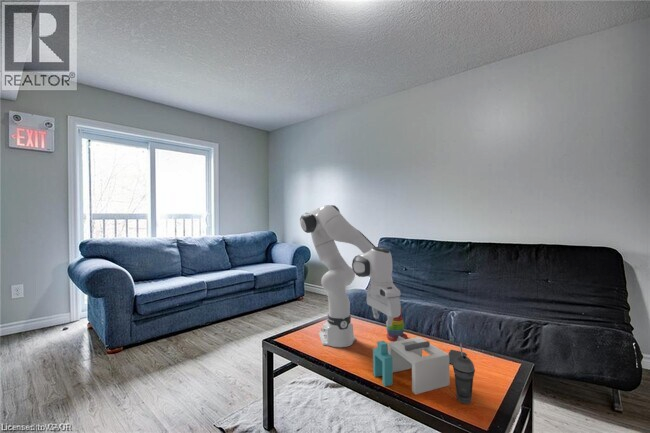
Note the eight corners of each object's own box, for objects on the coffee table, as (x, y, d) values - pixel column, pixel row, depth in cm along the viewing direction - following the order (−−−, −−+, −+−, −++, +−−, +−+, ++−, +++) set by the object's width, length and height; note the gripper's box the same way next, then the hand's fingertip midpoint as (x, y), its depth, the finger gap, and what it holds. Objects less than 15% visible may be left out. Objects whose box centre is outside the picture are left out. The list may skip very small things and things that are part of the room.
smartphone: (467, 352, 140) (461, 365, 128) (467, 354, 140) (461, 368, 128) (450, 349, 145) (443, 361, 132) (450, 350, 145) (443, 363, 132)
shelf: (388, 370, 126) (388, 338, 126) (419, 363, 131) (418, 332, 131) (415, 394, 109) (415, 356, 109) (449, 385, 115) (449, 349, 115)
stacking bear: (408, 337, 160) (408, 304, 160) (401, 344, 152) (401, 309, 151) (389, 332, 166) (389, 301, 166) (382, 339, 158) (382, 305, 158)
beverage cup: (464, 408, 101) (464, 350, 101) (448, 396, 107) (447, 342, 107) (480, 403, 104) (479, 346, 104) (462, 391, 110) (462, 338, 110)
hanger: (373, 375, 122) (372, 339, 122) (380, 373, 124) (380, 337, 124) (384, 386, 114) (384, 348, 114) (392, 384, 115) (392, 346, 115)
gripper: (362, 283, 127) (363, 315, 127) (388, 294, 108) (389, 332, 108) (375, 281, 130) (376, 313, 130) (403, 292, 110) (404, 329, 110)
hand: (382, 321), depth 119 cm, fingers open, 8 cm apart
